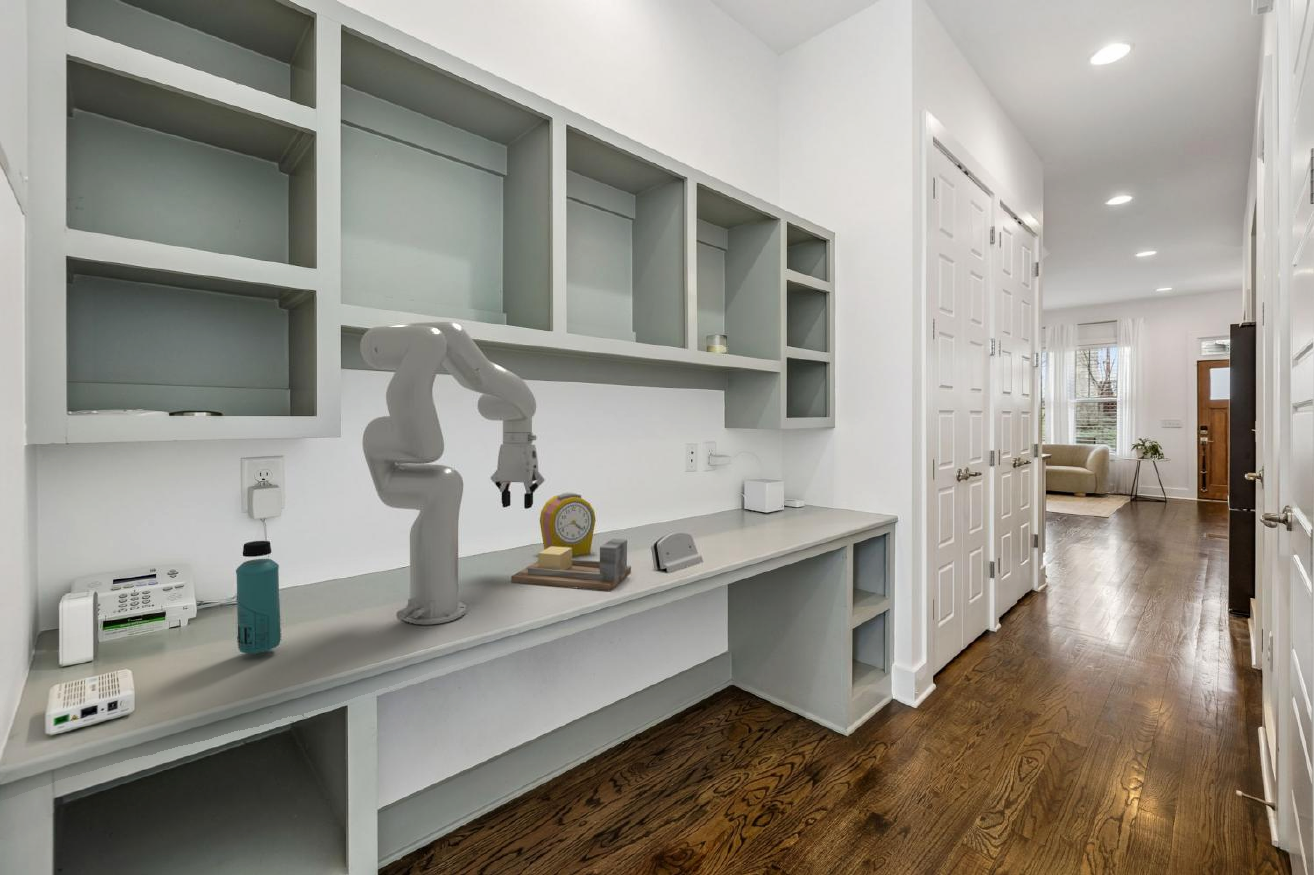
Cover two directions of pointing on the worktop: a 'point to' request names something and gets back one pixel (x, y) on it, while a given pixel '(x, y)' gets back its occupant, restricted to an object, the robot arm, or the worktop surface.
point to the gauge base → (583, 570)
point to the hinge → (675, 552)
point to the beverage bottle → (258, 600)
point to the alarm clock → (568, 523)
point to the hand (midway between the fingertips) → (517, 506)
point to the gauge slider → (555, 558)
